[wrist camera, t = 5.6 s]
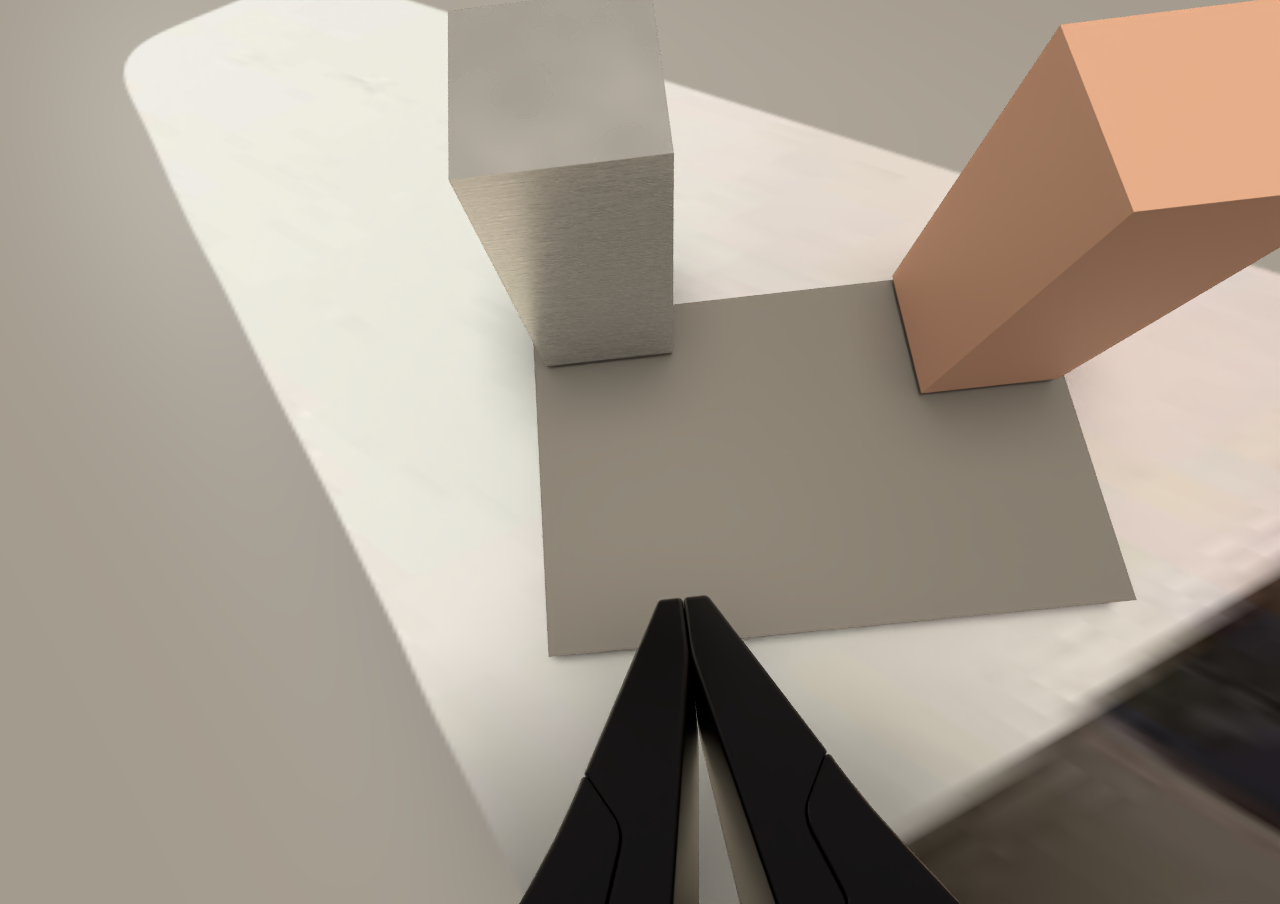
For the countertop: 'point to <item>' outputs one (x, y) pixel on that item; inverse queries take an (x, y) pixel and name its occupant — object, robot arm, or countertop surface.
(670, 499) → the thin grey base plate
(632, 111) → the brushed grey block
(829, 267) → the countertop surface
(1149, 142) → the peach orange rectangular block
